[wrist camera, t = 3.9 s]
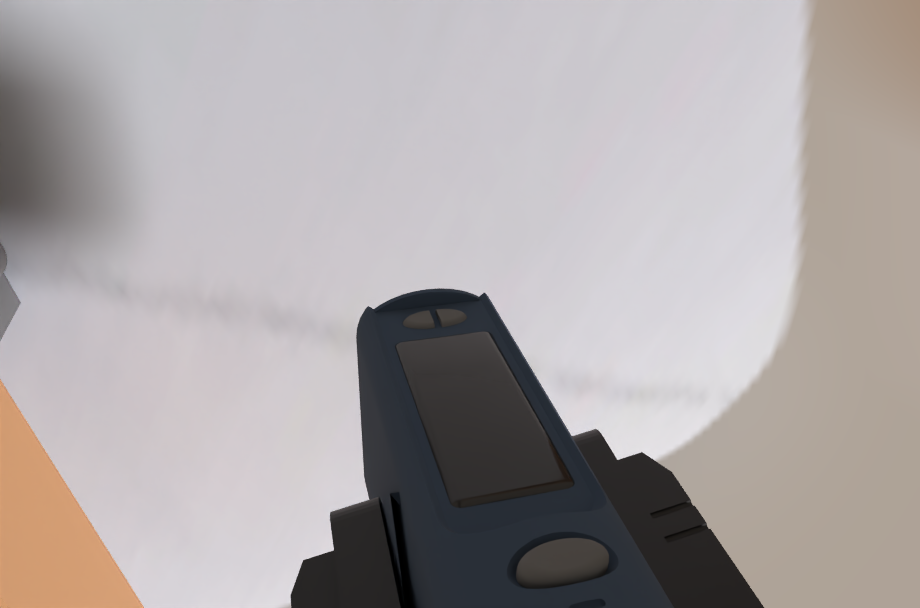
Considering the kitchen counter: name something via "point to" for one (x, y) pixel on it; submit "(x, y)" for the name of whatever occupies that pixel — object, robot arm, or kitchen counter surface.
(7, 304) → the socket block
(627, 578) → the vaping device
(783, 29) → the kitchen counter surface
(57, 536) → the orange bar
